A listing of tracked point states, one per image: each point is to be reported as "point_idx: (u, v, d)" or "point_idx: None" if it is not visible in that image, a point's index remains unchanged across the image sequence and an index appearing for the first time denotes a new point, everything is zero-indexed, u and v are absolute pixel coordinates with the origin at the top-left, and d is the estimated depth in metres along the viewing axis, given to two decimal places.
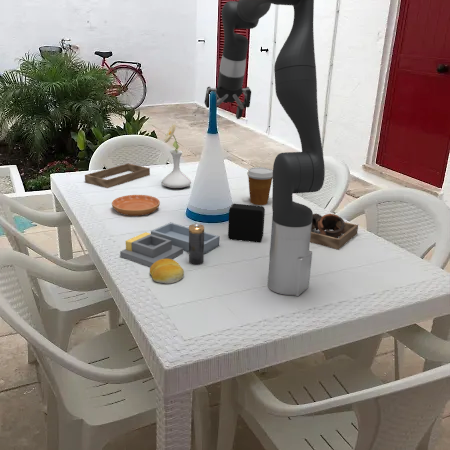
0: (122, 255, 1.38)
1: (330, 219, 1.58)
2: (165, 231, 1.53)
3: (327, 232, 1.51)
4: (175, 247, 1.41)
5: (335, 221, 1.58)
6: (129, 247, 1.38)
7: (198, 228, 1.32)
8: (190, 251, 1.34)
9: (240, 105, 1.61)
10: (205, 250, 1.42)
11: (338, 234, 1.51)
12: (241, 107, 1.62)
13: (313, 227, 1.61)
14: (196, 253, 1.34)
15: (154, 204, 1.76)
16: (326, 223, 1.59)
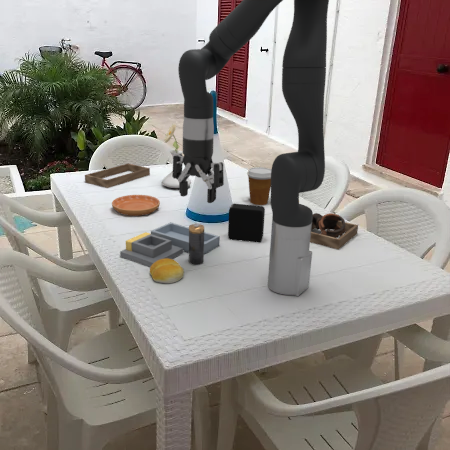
0: (122, 255, 1.38)
1: (331, 219, 1.58)
2: (165, 231, 1.53)
3: (328, 232, 1.51)
4: (175, 247, 1.41)
5: (336, 220, 1.58)
6: (129, 247, 1.38)
7: (198, 228, 1.32)
8: (190, 251, 1.34)
9: None
10: (205, 250, 1.42)
11: (339, 233, 1.52)
12: None
13: (313, 227, 1.61)
14: (196, 253, 1.34)
15: (154, 204, 1.76)
16: (327, 223, 1.59)
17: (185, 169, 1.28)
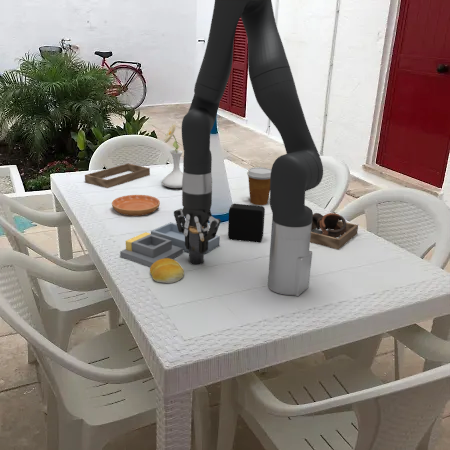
0: (122, 255, 1.38)
1: (331, 218, 1.58)
2: (165, 231, 1.53)
3: (329, 231, 1.51)
4: (175, 247, 1.41)
5: (336, 220, 1.59)
6: (129, 247, 1.38)
7: None
8: (190, 251, 1.34)
9: None
10: None
11: (340, 233, 1.52)
12: None
13: (313, 227, 1.61)
14: (197, 253, 1.34)
15: (154, 204, 1.76)
16: (327, 222, 1.60)
17: (186, 221, 1.33)
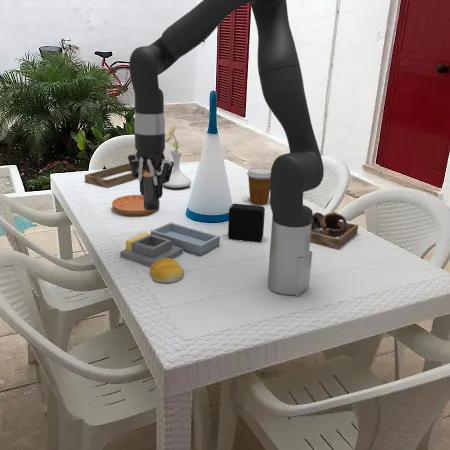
0: (122, 255, 1.38)
1: (331, 218, 1.59)
2: (165, 231, 1.53)
3: (330, 231, 1.52)
4: (175, 247, 1.41)
5: (336, 220, 1.59)
6: (129, 247, 1.38)
7: None
8: (144, 196, 1.33)
9: None
10: (205, 250, 1.42)
11: (341, 233, 1.52)
12: None
13: (313, 227, 1.61)
14: (151, 198, 1.32)
15: None
16: (327, 222, 1.60)
17: (140, 165, 1.31)
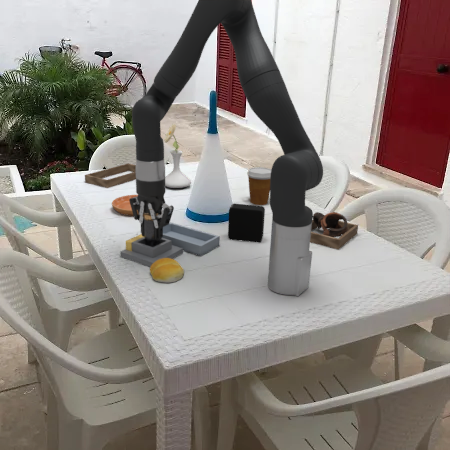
0: (122, 255, 1.38)
1: (332, 217, 1.59)
2: (165, 231, 1.53)
3: (331, 230, 1.52)
4: (175, 247, 1.41)
5: (337, 219, 1.59)
6: (129, 247, 1.38)
7: None
8: (145, 238, 1.37)
9: None
10: (205, 250, 1.42)
11: (341, 232, 1.53)
12: None
13: (313, 227, 1.61)
14: (152, 240, 1.36)
15: None
16: (328, 221, 1.60)
17: (141, 209, 1.35)
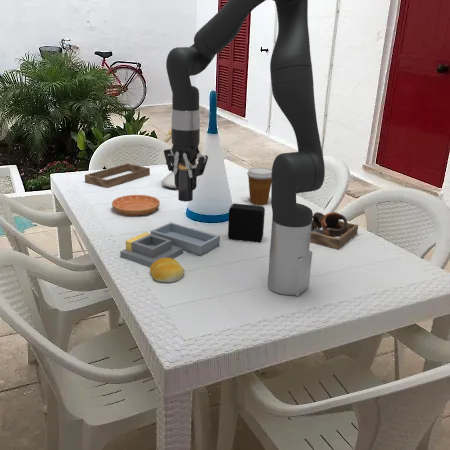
0: (122, 255, 1.38)
1: (332, 217, 1.59)
2: (165, 231, 1.53)
3: (331, 230, 1.52)
4: (175, 247, 1.41)
5: (337, 219, 1.59)
6: (129, 247, 1.38)
7: None
8: (179, 188, 1.41)
9: None
10: (205, 250, 1.42)
11: (341, 232, 1.53)
12: None
13: (313, 227, 1.61)
14: (186, 190, 1.41)
15: (154, 204, 1.76)
16: (328, 221, 1.60)
17: (176, 159, 1.39)
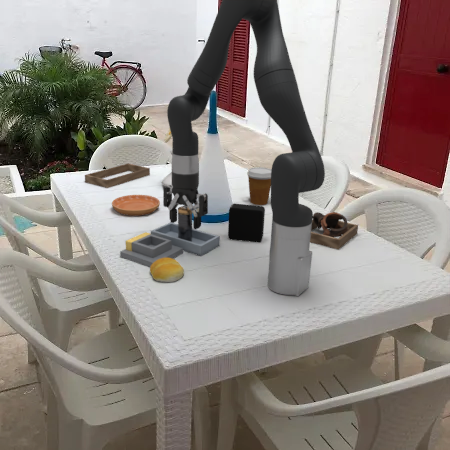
0: (122, 255, 1.38)
1: (332, 217, 1.59)
2: (165, 231, 1.53)
3: (331, 230, 1.52)
4: (175, 247, 1.41)
5: (337, 219, 1.59)
6: (129, 247, 1.38)
7: (186, 209, 1.44)
8: (179, 231, 1.46)
9: None
10: (205, 250, 1.42)
11: (342, 232, 1.53)
12: None
13: (313, 227, 1.61)
14: (185, 233, 1.45)
15: (154, 204, 1.76)
16: (328, 221, 1.60)
17: (174, 199, 1.43)
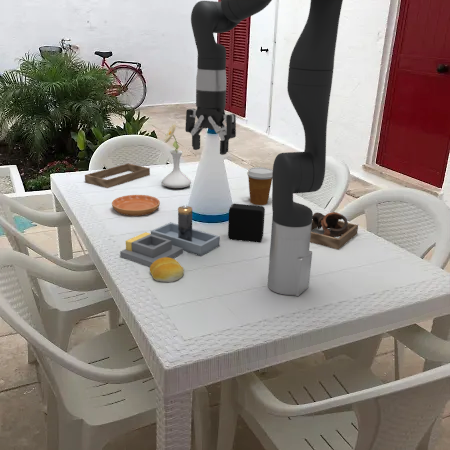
0: (122, 255, 1.38)
1: (331, 217, 1.59)
2: (165, 231, 1.53)
3: (332, 231, 1.52)
4: (175, 247, 1.41)
5: (336, 219, 1.59)
6: (129, 247, 1.38)
7: (186, 209, 1.44)
8: (179, 231, 1.46)
9: None
10: (205, 250, 1.42)
11: (342, 232, 1.53)
12: None
13: (313, 227, 1.61)
14: (185, 233, 1.45)
15: (154, 204, 1.76)
16: (327, 221, 1.60)
17: (198, 122, 1.31)
